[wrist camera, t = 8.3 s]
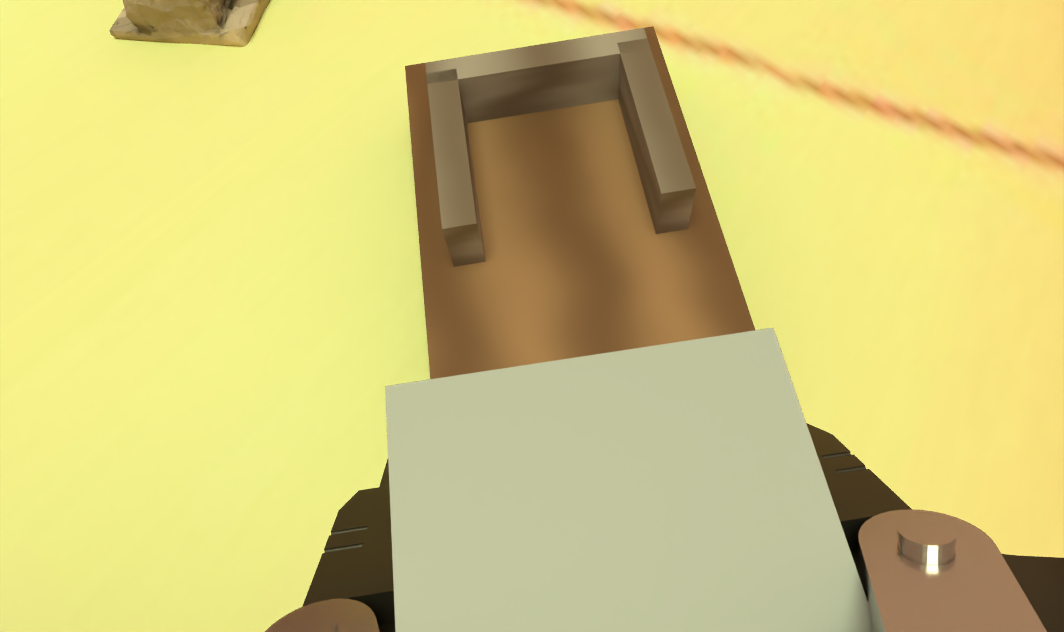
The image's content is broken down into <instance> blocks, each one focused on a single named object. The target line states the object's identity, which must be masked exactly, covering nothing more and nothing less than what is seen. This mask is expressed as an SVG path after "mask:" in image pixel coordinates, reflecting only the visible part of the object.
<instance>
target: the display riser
mask: <svg viewBox="0 0 1064 632" xmlns="http://www.w3.org/2000/svg"><path fill="white" fill-rule="evenodd" d="M405 70H406V83H407V95H408V107H409V120H410V132H411V144H412V157H413V169H414V181H415V194H416V206H417V218H418V231H419V243H420V255H421V268H422V280H423V292H424V304H425V317H426V329H427V341H428V354H429V366H430V378H431V379H436V378H443V377H450V376H456V375H463V374H470V373H476V372H483V371H489V370H496V369H503V368H509V367H516V366H523V365H529V364H536V363H542V362H549V361H556V360H562V359H569V358H576V357H582V356H589V355H595V354H602V353H609V352H615V351H622V350H629V349H635V348H642V347H648V346H655V345H662V344H668V343H675V342H682V341H688V340H695V339H701V338H708V337H715V336H721V335H728V334H735V333H741V332H748V331H755V328H754V325H753V322H752V319H751V316H750V313H749V310H748V307H747V304H746V301H745V298H744V295H743V292H742V289H741V286H740V283H739V280H738V277H737V274H736V271H735V268H734V265H733V262H732V259H731V256H730V253H729V250H728V247H727V244H726V241H725V239H724V236H723V233H722V230H721V227H720V224H719V221H718V218H717V215H716V212H715V209H714V206H713V203H712V200H711V197H710V194H709V191H708V188H707V185H706V182H705V179H704V176H703V173H702V170H701V167H700V164H699V161H698V158H697V155H696V152H695V149H694V146H693V143H692V140H691V137H690V134H689V131H688V128H687V125H686V122H685V119H684V116H683V114H682V111H681V108H680V105H679V102H678V99H677V96H676V93H675V90H674V87H673V84H672V81H671V78H670V75H669V72H668V69H667V66H666V63H665V60H664V57H663V54H662V51H661V48H660V45H659V42H658V39H657V36H656V33H655V30H654V27H647V28H641V29H634V30H628V31H622V32H616V33H609V34H603V35H597V36H590V37H584V38H578V39H572V40H565V41H559V42H553V43H547V44H540V45H534V46H528V47H522V48H515V49H509V50H503V51H496V52H490V53H484V54H478V55H471V56H465V57H459V58H453V59H446V60H440V61H434V62H428V63H421V64H415V65H409V66H405Z"/></svg>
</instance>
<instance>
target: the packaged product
mask: <svg viewBox="0 0 1064 632" xmlns="http://www.w3.org/2000/svg"><path fill="white" fill-rule="evenodd" d="M269 2H270V0H123V3H124V9H123V10H122V12H121V14H120V15H119V17H118V18H117V20H116V21H115V23H114V24H113V26H112V27H111V29H110V33H111V35H113V36H114V37H116V38H117V39H128V40H142V41H157V42H172V43H195V44H208V45H227V46H246V45H247V44H248V42H249V40H250V38H251V36H252V34H253V32H254V30H255V28H256V26H257V24H258V22H259V20H260V18H261V16H262V14H263V12H264V11H265V9H266V7H267V5H268V4H269Z"/></svg>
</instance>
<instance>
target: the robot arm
mask: <svg viewBox="0 0 1064 632" xmlns="http://www.w3.org/2000/svg"><path fill="white" fill-rule="evenodd" d="M806 424H807V423H806ZM807 427H808V430H809V433H810V435H811V438H812V441H813V444H814V447H815V450H816V453H817V456H818V459H819V462H820V465H821V467H822V470H823V473H824V476H825V479H826V482H827V485H828V488H829V491H830V494H831V496H832V499H833V502H834V505H835V508H836V511H837V514H838V517H839V520H840V523H841V526H842V528H843V531H844V534H845V537H846V540H847V543H848V546H849V549H850V552H851V555H852V557H853V560H854V563H855V566H856V569H857V572H858V575H859V578H860V581H861V584H862V587H863V589H864V592H865V595H866V598H867V601H868V605H869V613H870V620H871V624H872V627H873V631H874V632H1064V558H1054V557H1034V556H1016V555H1006V554H1001V553H1000V551H999V549H998V548H997V546H996V544H995V543H994V542H993V540H992V539H991V538H990V537H989V536H988V535H987V534H986V533H984V532H983V531H982V530H980V529H979V528H977V527H976V526H974V525H972V524H970V523H968V522H966V521H963V520H961V519H958V518H956V517H953V516H949V515H946V514H942V513H938V512H933V511H925V510H912V509H911V508H910V507H909V506H908V505H907V504H906V503H905V502H904V501H902V500H901V499H900V498H899V497H898V496H897V495H896V494H895V493H894V492H893V491H892V490H891V489H890V488H889V487H888V486H886V485H885V484H884V483H883V482H882V481H881V480H880V479H879V478H878V477H877V476H876V475H875V474H874V473H873V472H872V471H871V470H869V469H866V468H865V465H864V464H863V463H862V462H861V461H860V460H859V459H858V458H857V457H856V456H855V455H851V454H850V451H849V450H848V449H847V448H846V447H845V446H844V445H843V444H842V443H841V442H840V441H839V440H838V439H836V438H835V437H834V436H833V435H832V434H830V433H828V432H825V431H823V430H821V429H819V428H816V427H814V426H812V425H809V424H807ZM324 550H325V553H323V554H322V556H321V559H320V562H319V564H318V567H317V570H316V572H315V575H314V578H313V580H312V583H311V585H310V588H309V591H308V593H307V596H306V599H305V601H304V604H303V607H301V608H299V609H297V610H295V611H293V612H291V613H289V614H287V615H286V616H284V617H283V618H281V619H279V620H278V621H277V622H276V623H274V624H273V625H272V626H271V627H269V628H268V629H267V630H266V631H265V632H396V631H395V607H394V583H393V559H392V535H391V511H390V487H389V463H388V460H387V463H386V467H385V470H384V473H383V477H382V480H381V484H380V487H379V488H372V489H366V490H359V491H358V492H357V493H356V494H355V495H354V496H353V497H352V498H351V499H350V500H349V501H348V502H347V503H346V504H345V505H344V506H343V507H342V508H341V509H340V510H339V512H338V514H337V517H336V519H335V522H334V525H333V527H332V530H331V536H329V538H328V541H327V543H326V546H325V548H324Z"/></svg>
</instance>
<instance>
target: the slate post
mask: <svg viewBox="0 0 1064 632" xmlns="http://www.w3.org/2000/svg"><path fill="white" fill-rule="evenodd" d="M385 391H386V415H387V439H388V463H389V487H390V511H391V535H392V559H393V583H394V607H395V631H396V632H874V631H873V627H872V624H871V620H870V613H869V605H868V601H867V598H866V595H865V592H864V589H863V587H862V584H861V581H860V578H859V575H858V572H857V569H856V566H855V563H854V560H853V557H852V555H851V552H850V549H849V546H848V543H847V540H846V537H845V534H844V531H843V528H842V526H841V523H840V520H839V517H838V514H837V511H836V508H835V505H834V502H833V499H832V496H831V494H830V491H829V488H828V485H827V482H826V479H825V476H824V473H823V470H822V467H821V465H820V462H819V459H818V456H817V453H816V450H815V447H814V444H813V441H812V438H811V435H810V433H809V430H808V427H807V424H806V421H805V418H804V415H803V412H802V409H801V406H800V404H799V401H798V398H797V395H796V392H795V389H794V386H793V383H792V380H791V377H790V374H789V372H788V369H787V366H786V363H785V360H784V357H783V354H782V351H781V348H780V345H779V343H778V340H777V337H776V334H775V331H774V328H768V329H761V330H755V331H748V332H741V333H735V334H728V335H721V336H715V337H708V338H701V339H695V340H688V341H682V342H675V343H668V344H662V345H655V346H648V347H642V348H635V349H629V350H622V351H615V352H609V353H602V354H595V355H589V356H582V357H576V358H569V359H562V360H556V361H549V362H542V363H536V364H529V365H523V366H516V367H509V368H503V369H496V370H489V371H483V372H476V373H470V374H463V375H456V376H450V377H443V378H436V379H430V380H423V381H416V382H410V383H403V384H397V385H390V386H385Z"/></svg>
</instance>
